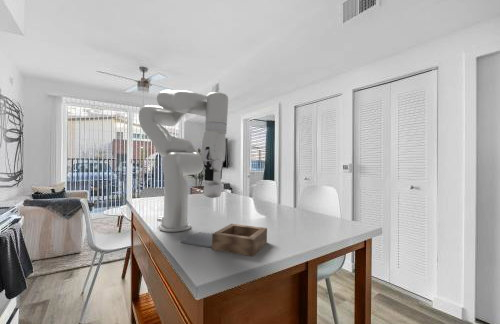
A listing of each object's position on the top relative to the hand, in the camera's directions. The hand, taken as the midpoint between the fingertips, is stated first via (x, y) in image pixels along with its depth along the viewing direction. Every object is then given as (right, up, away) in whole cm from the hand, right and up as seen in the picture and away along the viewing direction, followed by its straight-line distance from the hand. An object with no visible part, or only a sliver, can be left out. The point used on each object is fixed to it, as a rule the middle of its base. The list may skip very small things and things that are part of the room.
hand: (213, 179), depth 86 cm
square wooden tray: (+10, -22, -4) cm, 24 cm away
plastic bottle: (0, -7, 0) cm, 7 cm away
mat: (-3, -22, +1) cm, 22 cm away
